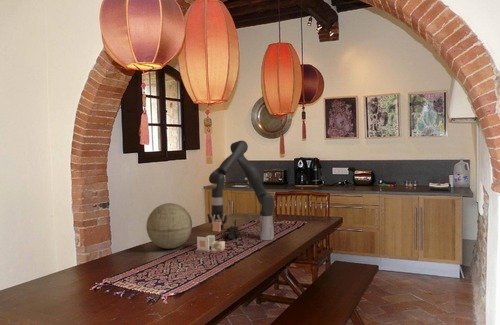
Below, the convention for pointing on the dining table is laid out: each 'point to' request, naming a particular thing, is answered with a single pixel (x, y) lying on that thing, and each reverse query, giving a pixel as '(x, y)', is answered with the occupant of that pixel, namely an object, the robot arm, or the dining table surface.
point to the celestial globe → (169, 225)
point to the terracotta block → (216, 226)
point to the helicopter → (232, 231)
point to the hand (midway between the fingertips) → (217, 229)
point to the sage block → (211, 239)
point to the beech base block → (218, 246)
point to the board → (203, 244)
